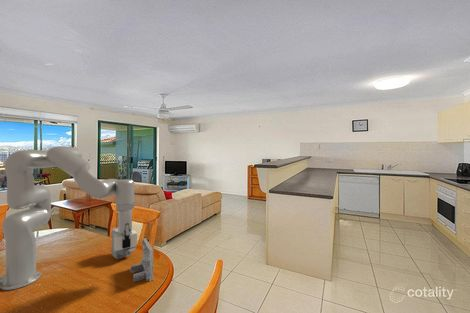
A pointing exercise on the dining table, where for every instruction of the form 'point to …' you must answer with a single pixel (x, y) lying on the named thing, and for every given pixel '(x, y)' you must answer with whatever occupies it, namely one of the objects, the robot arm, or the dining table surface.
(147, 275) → the bracket
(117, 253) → the circuit breaker
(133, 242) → the block
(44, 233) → the dining table surface
